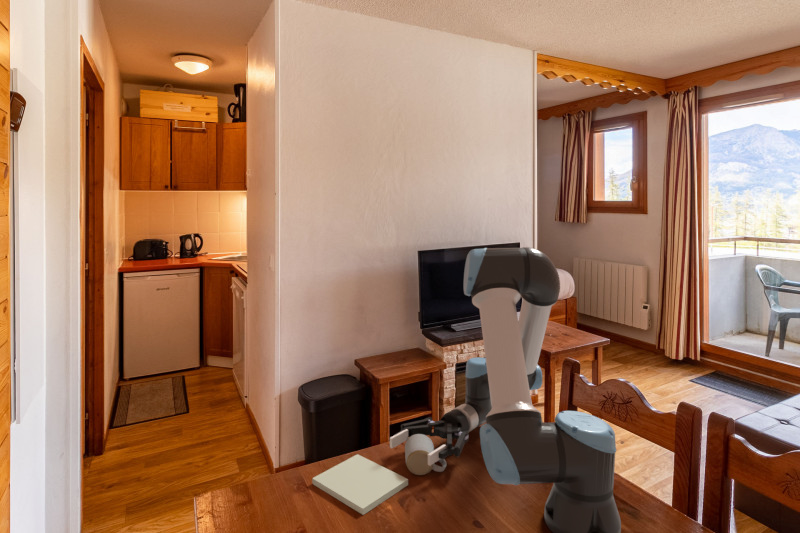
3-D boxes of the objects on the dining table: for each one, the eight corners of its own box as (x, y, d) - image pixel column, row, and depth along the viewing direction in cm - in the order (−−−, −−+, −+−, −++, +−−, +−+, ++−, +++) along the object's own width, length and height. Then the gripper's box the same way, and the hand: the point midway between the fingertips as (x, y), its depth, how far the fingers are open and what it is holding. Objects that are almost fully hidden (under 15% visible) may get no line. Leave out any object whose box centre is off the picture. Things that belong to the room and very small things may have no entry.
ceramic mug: (405, 477, 120) (405, 448, 119) (404, 460, 128) (404, 433, 127) (448, 477, 120) (448, 448, 119) (444, 460, 128) (445, 432, 127)
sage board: (408, 485, 117) (408, 479, 116) (363, 515, 106) (362, 508, 105) (357, 459, 129) (357, 454, 128) (312, 483, 118) (312, 478, 117)
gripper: (496, 448, 129) (448, 483, 113) (426, 421, 145) (375, 449, 129) (496, 421, 128) (448, 453, 112) (426, 398, 144) (374, 422, 128)
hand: (409, 451), depth 121 cm, fingers open, 12 cm apart
